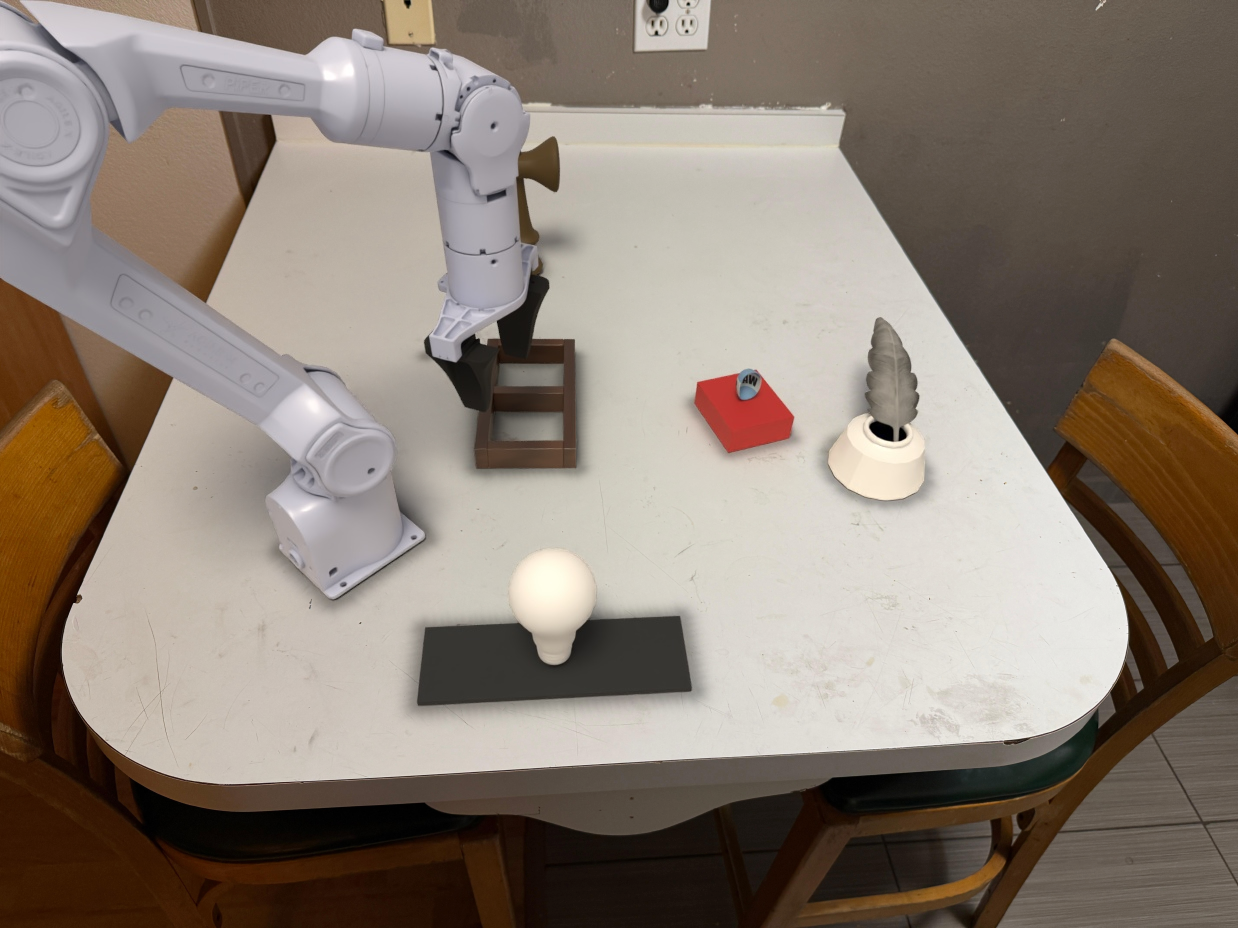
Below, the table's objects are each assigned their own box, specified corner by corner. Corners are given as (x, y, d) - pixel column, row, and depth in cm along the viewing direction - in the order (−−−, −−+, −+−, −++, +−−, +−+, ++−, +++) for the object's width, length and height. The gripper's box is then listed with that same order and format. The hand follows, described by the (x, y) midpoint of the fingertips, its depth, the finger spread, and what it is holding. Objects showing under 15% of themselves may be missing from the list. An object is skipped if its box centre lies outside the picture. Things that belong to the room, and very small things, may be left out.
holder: (476, 468, 77) (473, 449, 75) (489, 357, 89) (487, 338, 88) (576, 468, 77) (576, 448, 76) (574, 357, 90) (574, 338, 88)
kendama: (562, 282, 101) (560, 118, 87) (484, 284, 100) (470, 119, 86) (559, 257, 105) (556, 98, 92) (483, 260, 104) (470, 99, 90)
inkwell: (834, 499, 75) (860, 417, 69) (809, 380, 88) (828, 301, 82) (934, 504, 75) (970, 423, 69) (894, 384, 88) (920, 306, 82)
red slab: (694, 403, 85) (700, 353, 81) (752, 390, 87) (761, 341, 82) (728, 452, 80) (737, 402, 75) (789, 438, 81) (801, 388, 77)
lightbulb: (506, 633, 63) (496, 540, 55) (581, 614, 64) (582, 521, 57) (524, 701, 59) (517, 610, 51) (605, 679, 60) (609, 588, 53)
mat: (417, 705, 59) (416, 702, 58) (425, 630, 63) (424, 626, 63) (691, 691, 60) (691, 687, 60) (679, 619, 65) (680, 615, 65)
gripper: (478, 185, 66) (493, 324, 76) (380, 273, 56) (412, 420, 66) (558, 200, 64) (563, 341, 74) (471, 294, 55) (490, 442, 64)
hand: (497, 380), depth 70 cm, fingers open, 7 cm apart
